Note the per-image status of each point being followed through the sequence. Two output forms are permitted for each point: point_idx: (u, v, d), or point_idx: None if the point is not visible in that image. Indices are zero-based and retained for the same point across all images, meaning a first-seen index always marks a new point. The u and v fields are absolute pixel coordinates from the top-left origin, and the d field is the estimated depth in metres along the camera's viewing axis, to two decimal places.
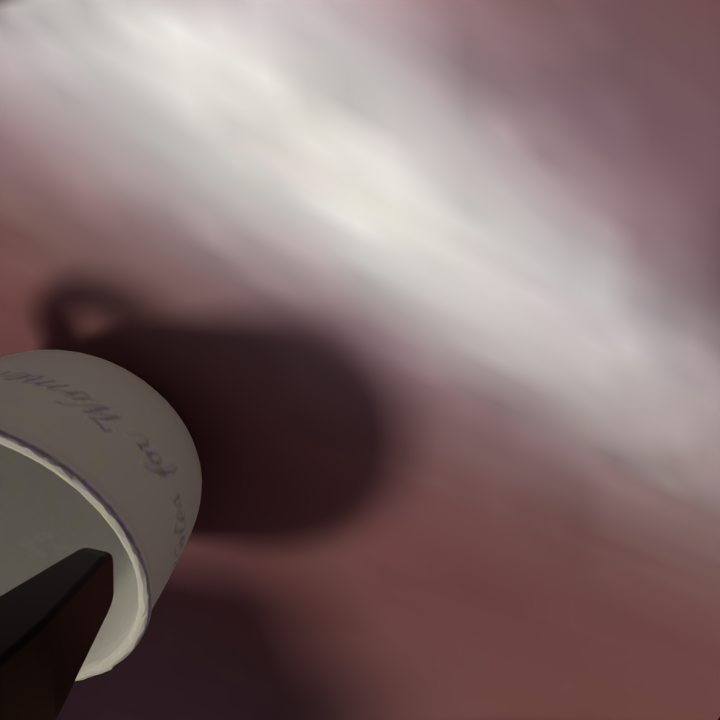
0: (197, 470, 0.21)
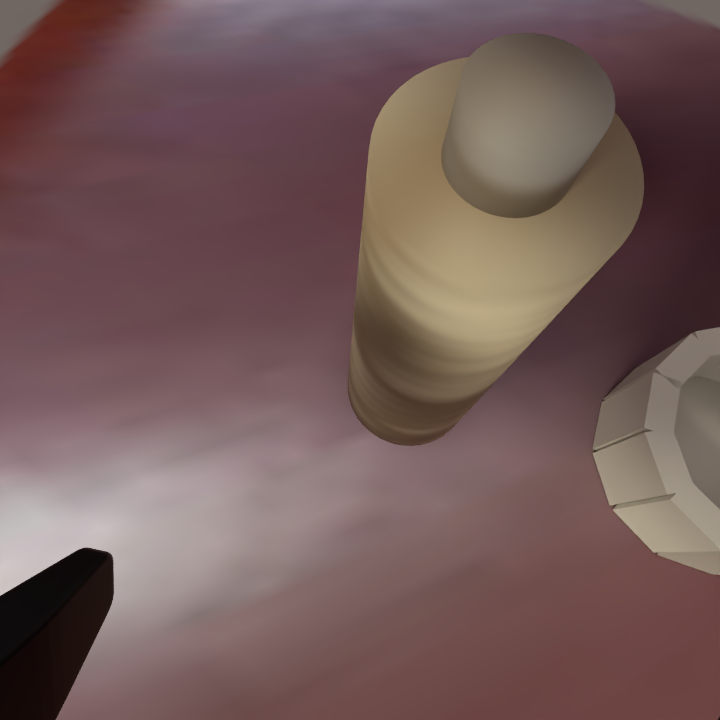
0: None
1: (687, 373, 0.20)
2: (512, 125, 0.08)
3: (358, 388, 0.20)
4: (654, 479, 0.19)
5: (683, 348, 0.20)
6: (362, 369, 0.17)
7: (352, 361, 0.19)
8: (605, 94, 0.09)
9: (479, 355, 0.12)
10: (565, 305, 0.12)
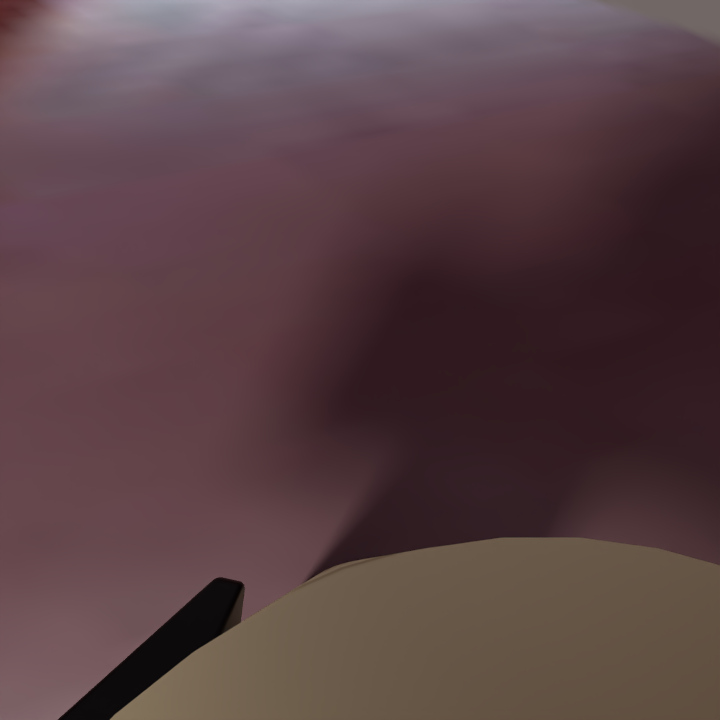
0: None
1: None
2: None
3: None
4: None
5: None
6: None
7: None
8: None
9: None
10: None
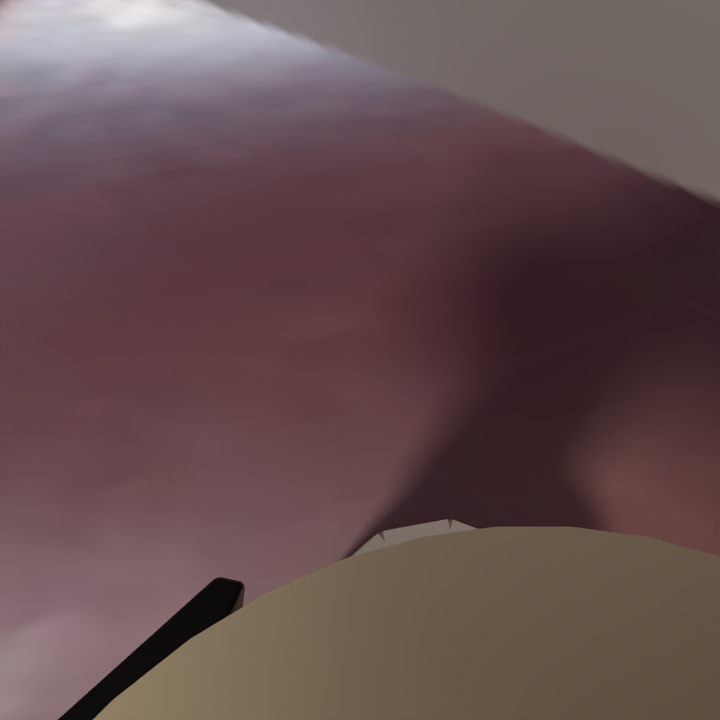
0: None
1: None
2: None
3: None
4: None
5: None
6: None
7: None
8: None
9: None
10: None
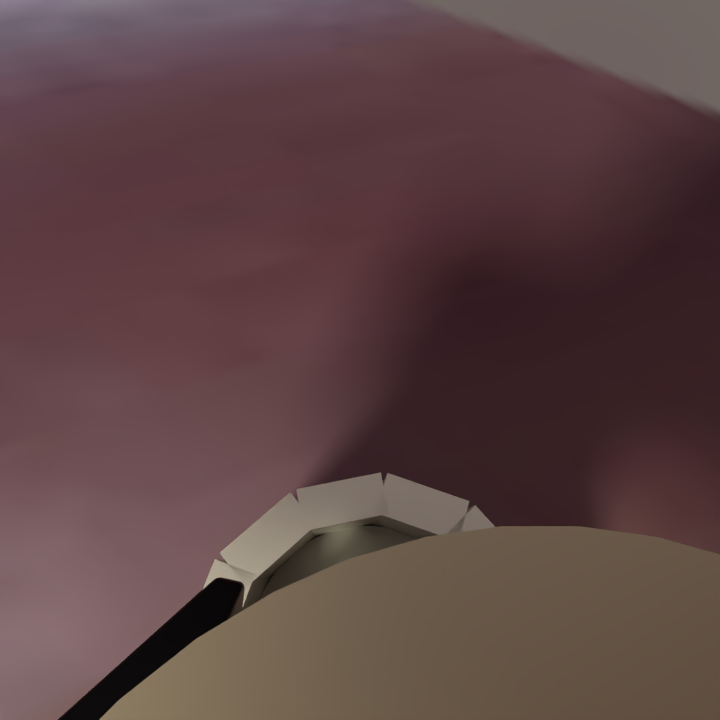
0: None
1: (267, 559, 0.13)
2: None
3: None
4: None
5: (272, 517, 0.13)
6: None
7: None
8: None
9: None
10: None
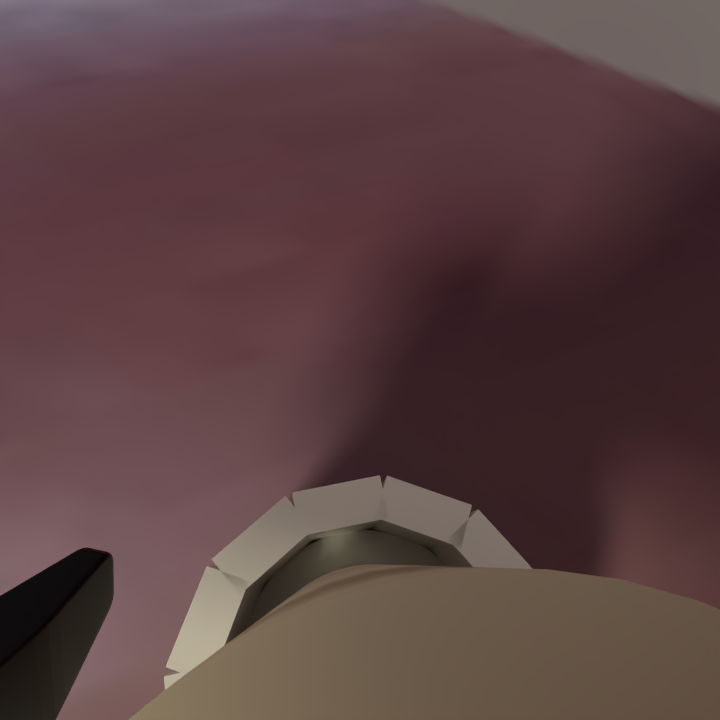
0: None
1: (261, 566, 0.12)
2: None
3: None
4: None
5: (266, 522, 0.13)
6: None
7: None
8: None
9: None
10: None
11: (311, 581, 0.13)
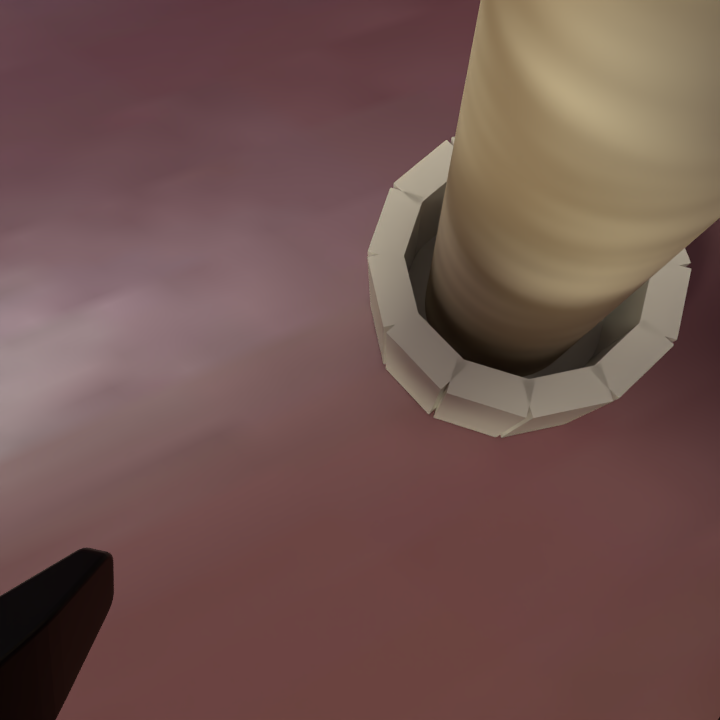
0: None
1: (432, 186, 0.16)
2: None
3: (446, 302, 0.15)
4: (379, 312, 0.15)
5: (433, 158, 0.16)
6: (458, 269, 0.13)
7: (439, 264, 0.14)
8: None
9: (687, 200, 0.07)
10: None
11: None
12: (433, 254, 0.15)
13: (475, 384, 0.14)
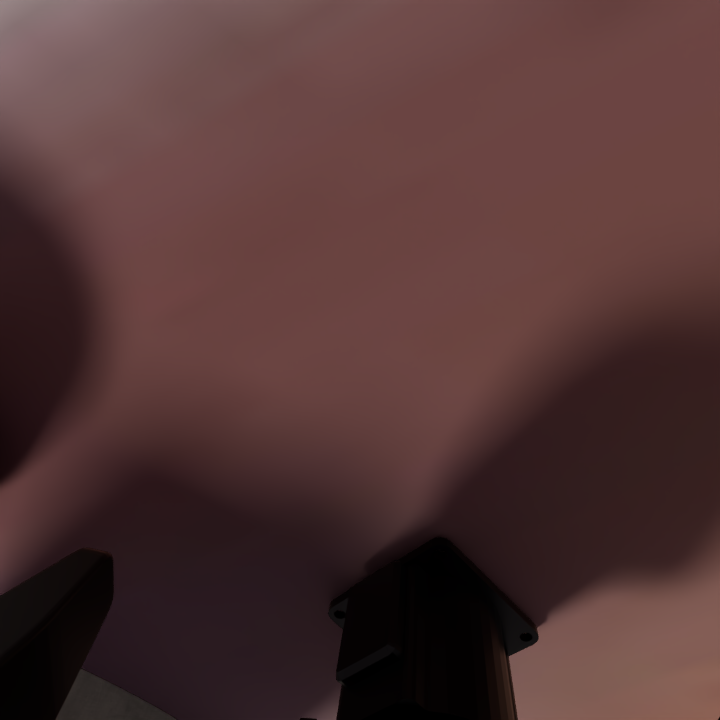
0: None
1: None
2: None
3: None
4: None
5: None
6: None
7: None
8: None
9: None
10: None
11: None
12: None
13: None
